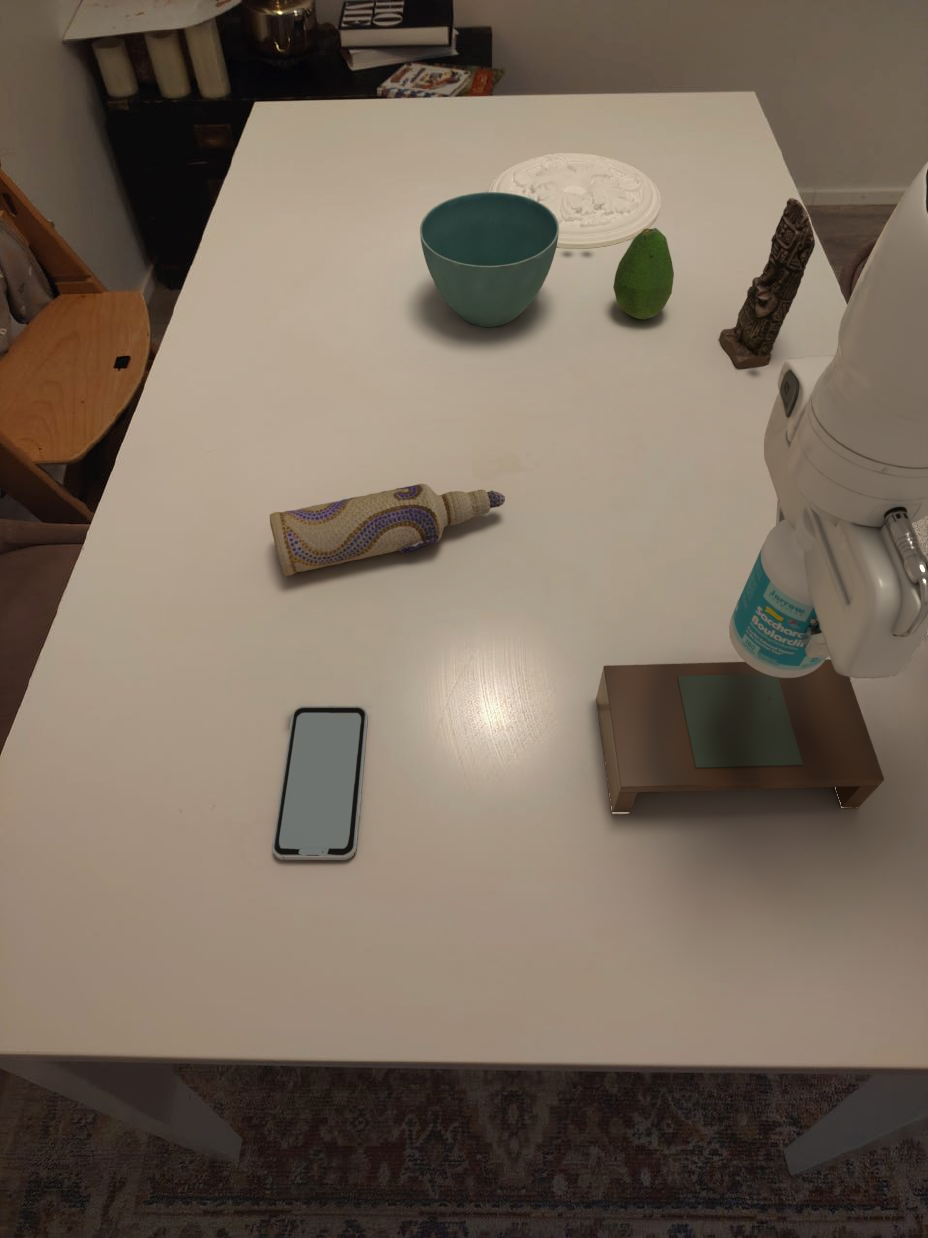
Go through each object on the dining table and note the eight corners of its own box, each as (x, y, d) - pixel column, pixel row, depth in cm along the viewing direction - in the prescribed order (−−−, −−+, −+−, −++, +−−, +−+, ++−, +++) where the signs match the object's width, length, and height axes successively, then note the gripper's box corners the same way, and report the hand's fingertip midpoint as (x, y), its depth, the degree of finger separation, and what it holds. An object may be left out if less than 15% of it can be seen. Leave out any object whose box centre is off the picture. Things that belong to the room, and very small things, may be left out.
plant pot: (425, 351, 112) (419, 268, 102) (424, 275, 123) (419, 192, 113) (558, 347, 112) (565, 263, 102) (546, 271, 123) (551, 188, 113)
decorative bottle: (285, 592, 89) (272, 551, 83) (276, 541, 93) (263, 499, 88) (514, 542, 92) (516, 500, 87) (495, 495, 96) (496, 452, 91)
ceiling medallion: (617, 266, 123) (620, 246, 121) (456, 219, 132) (455, 199, 129) (686, 182, 137) (690, 163, 134) (536, 145, 146) (537, 125, 143)
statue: (716, 338, 113) (756, 192, 97) (766, 332, 113) (814, 185, 97) (735, 370, 109) (780, 222, 93) (786, 363, 110) (839, 215, 93)
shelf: (821, 691, 80) (844, 657, 75) (858, 808, 73) (886, 779, 68) (596, 698, 80) (603, 664, 75) (611, 815, 74) (621, 786, 68)
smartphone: (368, 705, 80) (355, 857, 71) (369, 710, 80) (356, 861, 71) (292, 705, 80) (269, 857, 71) (294, 711, 80) (271, 861, 71)
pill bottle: (723, 671, 61) (775, 555, 50) (729, 594, 66) (778, 471, 55) (827, 691, 60) (904, 577, 49) (827, 611, 64) (897, 489, 53)
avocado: (653, 293, 119) (668, 211, 109) (675, 325, 115) (692, 243, 105) (601, 302, 118) (611, 221, 108) (621, 335, 114) (634, 253, 104)
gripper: (1001, 594, 41) (890, 726, 52) (874, 341, 53) (806, 492, 64) (875, 598, 41) (790, 728, 52) (776, 344, 53) (725, 495, 64)
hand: (798, 597), depth 58 cm, fingers closed on pill bottle, 7 cm apart
